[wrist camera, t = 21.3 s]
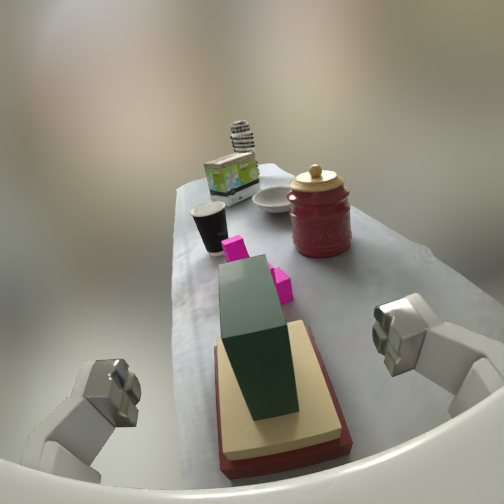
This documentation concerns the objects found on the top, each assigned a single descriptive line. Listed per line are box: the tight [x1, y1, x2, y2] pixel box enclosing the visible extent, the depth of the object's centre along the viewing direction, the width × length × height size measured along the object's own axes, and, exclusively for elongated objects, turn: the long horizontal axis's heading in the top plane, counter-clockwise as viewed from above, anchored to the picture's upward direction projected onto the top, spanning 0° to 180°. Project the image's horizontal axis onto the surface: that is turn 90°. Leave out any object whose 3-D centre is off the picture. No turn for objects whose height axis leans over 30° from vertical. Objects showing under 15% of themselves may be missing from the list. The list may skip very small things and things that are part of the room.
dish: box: [252, 186, 291, 213], centre depth 83 cm, size 18×14×5 cm
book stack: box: [214, 319, 353, 479], centre depth 31 cm, size 18×13×6 cm
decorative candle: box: [230, 120, 260, 178], centre depth 116 cm, size 9×9×25 cm
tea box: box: [204, 153, 261, 206], centre depth 99 cm, size 15×10×15 cm, turn 135°
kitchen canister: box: [287, 165, 352, 257], centre depth 60 cm, size 13×13×18 cm
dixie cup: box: [191, 201, 228, 256], centre depth 67 cm, size 8×8×11 cm
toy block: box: [221, 235, 293, 305], centre depth 53 cm, size 15×6×8 cm, turn 23°
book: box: [218, 254, 299, 421], centre depth 26 cm, size 10×5×12 cm, turn 6°
